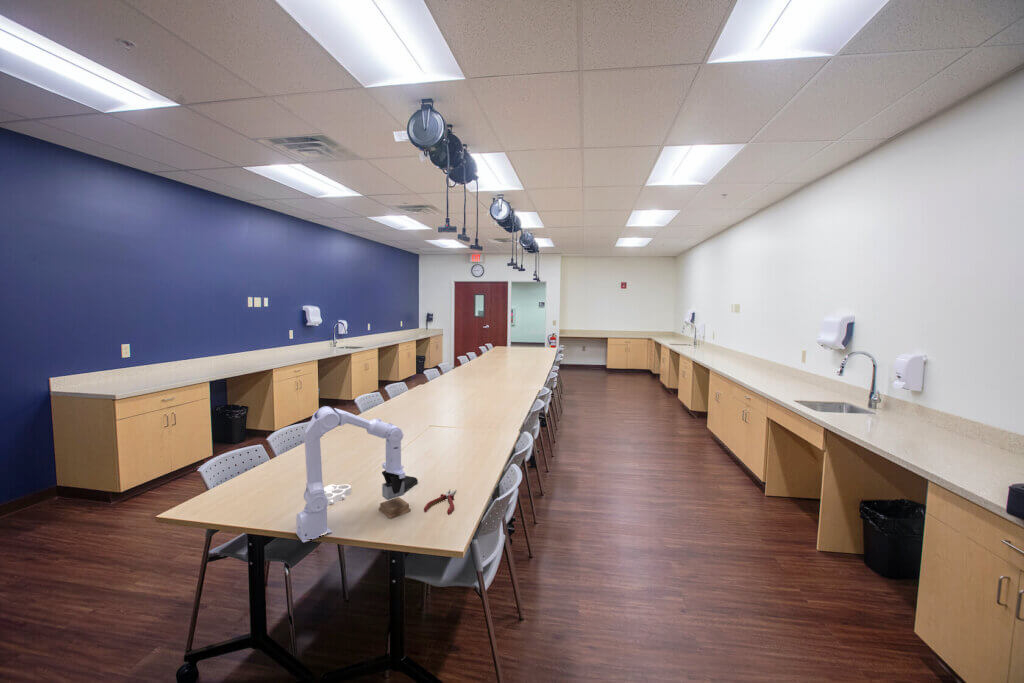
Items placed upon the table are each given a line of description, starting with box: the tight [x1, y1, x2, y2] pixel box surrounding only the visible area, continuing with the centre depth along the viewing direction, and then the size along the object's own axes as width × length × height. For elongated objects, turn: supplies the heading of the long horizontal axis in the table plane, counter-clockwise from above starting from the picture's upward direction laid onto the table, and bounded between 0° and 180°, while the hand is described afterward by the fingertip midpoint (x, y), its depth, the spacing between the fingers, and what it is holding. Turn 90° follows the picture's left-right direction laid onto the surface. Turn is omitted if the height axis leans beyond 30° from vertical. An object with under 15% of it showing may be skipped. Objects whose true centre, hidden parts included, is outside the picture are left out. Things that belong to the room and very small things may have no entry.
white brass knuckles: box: [323, 483, 352, 506], centre depth 170 cm, size 3×18×15 cm
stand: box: [378, 496, 412, 520], centre depth 161 cm, size 9×9×3 cm
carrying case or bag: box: [403, 475, 419, 493], centre depth 183 cm, size 11×3×15 cm
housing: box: [381, 481, 405, 501], centre depth 159 cm, size 4×7×5 cm, turn 134°
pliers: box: [423, 489, 457, 516], centre depth 169 cm, size 12×20×3 cm, turn 169°
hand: (393, 490), depth 160 cm, fingers closed on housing, 4 cm apart
